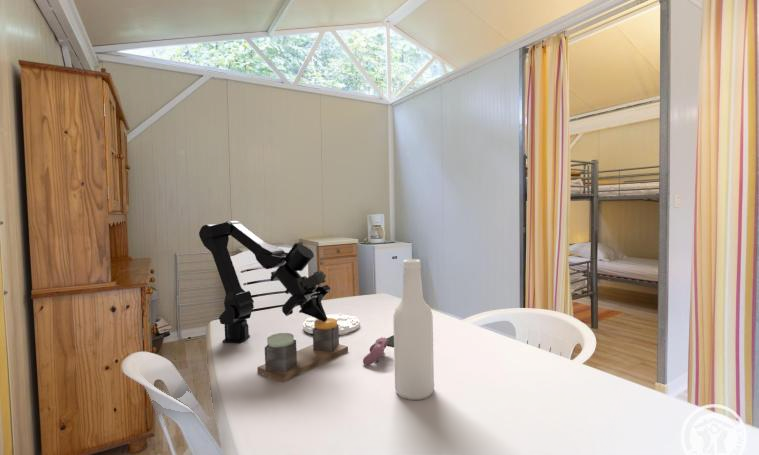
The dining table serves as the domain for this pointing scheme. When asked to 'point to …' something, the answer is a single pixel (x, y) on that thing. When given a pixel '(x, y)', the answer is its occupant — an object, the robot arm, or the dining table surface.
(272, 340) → the pale green rounded piece
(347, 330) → the giant coin
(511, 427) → the dining table surface
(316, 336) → the button board
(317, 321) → the orange button
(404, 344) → the alcohol
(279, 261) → the robot arm
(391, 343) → the phone
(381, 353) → the video game controller
